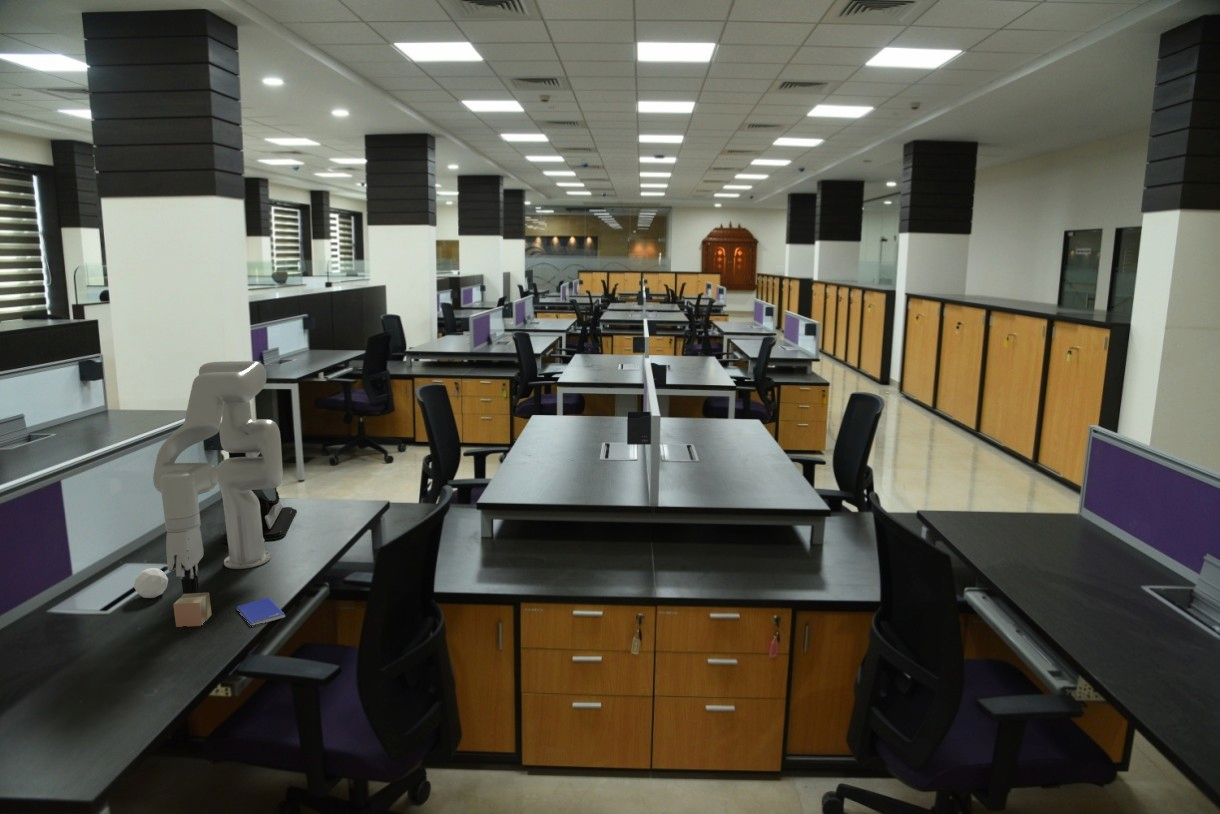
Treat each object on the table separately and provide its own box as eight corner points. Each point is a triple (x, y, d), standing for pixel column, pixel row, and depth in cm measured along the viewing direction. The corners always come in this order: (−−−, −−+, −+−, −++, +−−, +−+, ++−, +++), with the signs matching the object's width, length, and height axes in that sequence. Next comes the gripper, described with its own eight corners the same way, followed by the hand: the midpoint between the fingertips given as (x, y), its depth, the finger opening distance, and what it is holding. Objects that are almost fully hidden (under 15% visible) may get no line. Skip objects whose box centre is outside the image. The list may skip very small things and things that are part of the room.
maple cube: (184, 593, 196) (173, 604, 190) (209, 592, 196) (199, 603, 191) (186, 616, 197) (176, 627, 191) (211, 614, 198) (201, 625, 192)
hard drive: (284, 613, 196) (269, 597, 205) (250, 623, 191) (236, 605, 200) (285, 619, 196) (270, 602, 206) (251, 629, 191) (237, 611, 200)
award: (283, 540, 249) (274, 449, 243) (219, 545, 245) (209, 453, 239) (298, 510, 278) (290, 428, 272) (241, 514, 274) (232, 431, 268)
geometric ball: (159, 607, 208) (159, 590, 203) (128, 598, 207) (127, 582, 202) (173, 583, 214) (173, 567, 209) (143, 575, 213) (142, 558, 208)
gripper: (179, 512, 197) (188, 580, 200) (152, 532, 182) (161, 606, 185) (211, 511, 197) (218, 579, 201) (186, 531, 183) (194, 604, 186)
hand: (191, 592), depth 193 cm, fingers closed
